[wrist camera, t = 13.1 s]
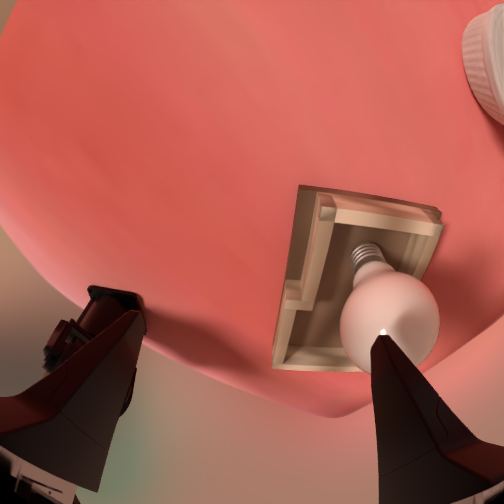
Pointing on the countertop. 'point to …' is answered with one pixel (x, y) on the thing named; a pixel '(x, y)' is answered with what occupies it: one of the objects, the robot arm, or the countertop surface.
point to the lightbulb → (386, 310)
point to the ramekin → (486, 60)
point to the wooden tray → (341, 267)
